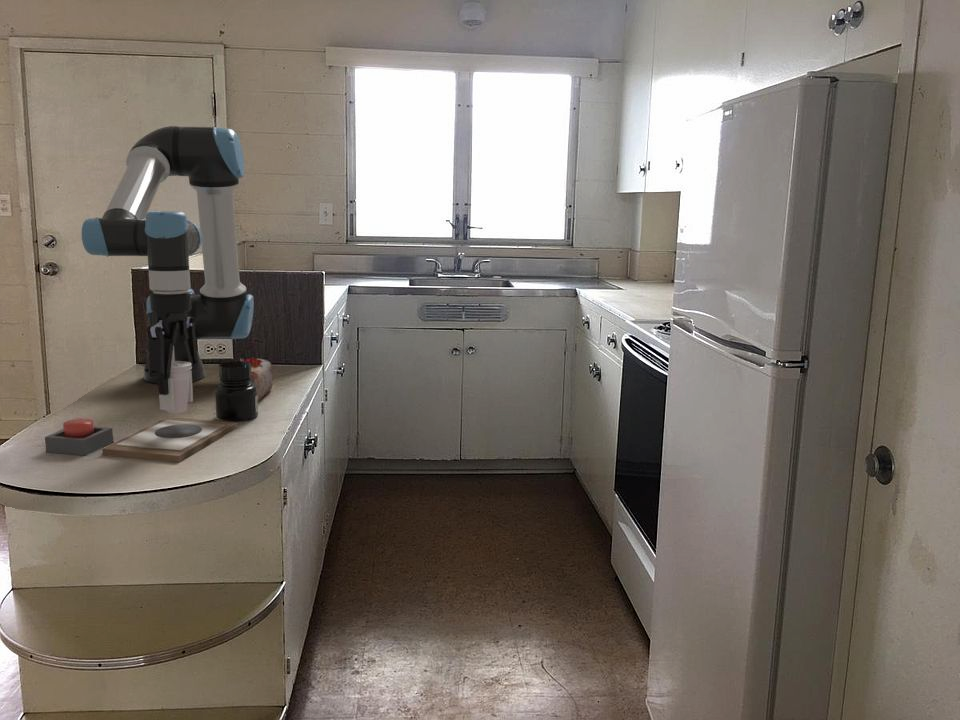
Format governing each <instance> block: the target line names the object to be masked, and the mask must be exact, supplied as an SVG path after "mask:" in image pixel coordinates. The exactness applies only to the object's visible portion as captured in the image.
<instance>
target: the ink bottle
mask: <svg viewBox="0 0 960 720" xmlns="http://www.w3.org/2000/svg"><path fill="white" fill-rule="evenodd" d="M218 368H219V369H218V371H219V382H220V383H219V385H218V386H217V387H216V388H215V391H214V393H215V395H214V397H215V399H214V400H215V414H216V415H215V416H216V418H217V419H218V420H219V421H220V420H221V421H223V422H242V421H243V422H245V421H248V420H252V419H254V418H256V417H257V416H258V414H259V407H258V406H259V401H258V398H257V388H256V386H255V385H253V384H252V382H250V381H251V379H252V378H251V363H249V362H244V361H240V360H237V361H235V360H233V361H225V362H222V363H219V365H218Z"/></svg>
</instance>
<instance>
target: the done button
mask: <svg viewBox="0 0 960 720" xmlns="http://www.w3.org/2000/svg"><path fill="white" fill-rule="evenodd" d="M62 425H63V429H64V436H65V437H72V438H83V437H87V436H90V435H92V434H94V426H95V425H94V420H93V419H90V418H74V419H69V420H67V421H64V422H63V423H62Z"/></svg>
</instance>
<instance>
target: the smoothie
mask: <svg viewBox="0 0 960 720" xmlns="http://www.w3.org/2000/svg"><path fill="white" fill-rule="evenodd" d="M190 369H192V365H191V363H190V362H186V361H175V358H174V346H173V354H172V362H171V371H170V378H173V390H174V407H175V410H173V411H170V410H166V411H167V413H169V414H182V413H185V412H187V411H188V391H189V379H190ZM164 372H165V371H164Z"/></svg>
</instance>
